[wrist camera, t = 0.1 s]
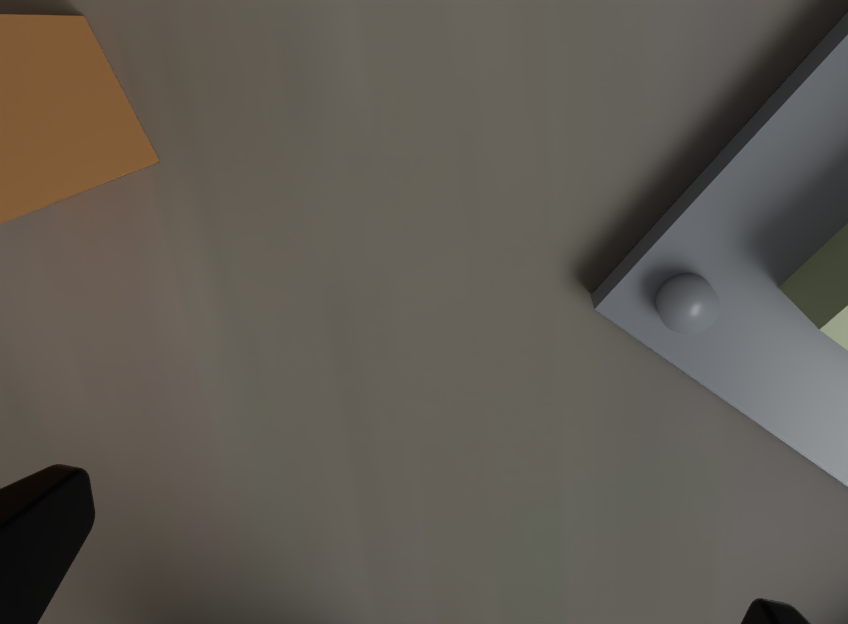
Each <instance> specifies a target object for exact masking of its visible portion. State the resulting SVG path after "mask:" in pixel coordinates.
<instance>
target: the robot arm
mask: <svg viewBox="0 0 848 624" xmlns="http://www.w3.org/2000/svg"><path fill="white" fill-rule="evenodd" d="M94 519H95V508H94V502H93V496H92V490H91V484H90V478H89V475H88V473H87V472H86V471H85V470H84V469H82V468H78V467H72V466H67V465H62V464H56V465H52V466H50V467H47V468H45V469H43V470H40V471H38V472H36V473H34V474H32V475H30V476H27V477H25V478H23V479H21V480H19V481H16V482H14V483H12V484H10V485H8V486H5V487H3V488H1V489H0V624H37V623H38V622H39V620H40V618H41V617H42V615H43V613H44V611H45V610H46V608H47V606H48V604H49V603H50V601H51V599H52V597H53V596H54V594H55V592H56V590H57V589H58V587H59V585H60V583H61V582H62V580H63V578H64V576H65V575H66V573H67V571H68V569H69V568H70V566H71V564H72V562H73V561H74V559H75V557H76V555H77V554H78V552H79V550H80V548H81V547H82V545H83V543H84V541H85V540H86V538H87V536H88V534H89V533H90V531H91V529H92V526H93V523H94ZM741 624H811V623H810V622H809V621H808V620H807V619H806V618H805V617H804V616H803V615H802V614H801V613H800V612H799V611H798V610H797V609H795V608H794V607H793V606H791V605H790V604H787V603H783V602H778V601H773V600H768V599H762V598H759V599H756V600H754V601H753V602H752V603H751V605H750V607H749V609H748V610H747V612H746V614H745V616H744V618H743V620H742V622H741Z"/></svg>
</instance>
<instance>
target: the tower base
mask: <svg viewBox="0 0 848 624" xmlns="http://www.w3.org/2000/svg"><path fill="white" fill-rule="evenodd" d="M591 297H592V301H593V305H594V309H595V310H597V311H598V312H599V313H601V314H602V315H604V316H605V317H606V318H608V319H609V320H611V321H612V322H614V323H615V324H616V325H618V326H619V327H621V328H622V329H624V330H625V331H626V332H628V333H629V334H631V335H632V336H634V337H635V338H636V339H638V340H639V341H641V342H642V343H644V344H645V345H646V346H648V347H649V348H651V349H652V350H654V351H655V352H656V353H658V354H659V355H661V356H662V357H664V358H665V359H666V360H668V361H669V362H671V363H672V364H674V365H675V366H676V367H678V368H679V369H681V370H682V371H684V372H685V373H686V374H688V375H689V376H691V377H692V378H694V379H695V380H696V381H698V382H699V383H701V384H702V385H704V386H705V387H706V388H708V389H709V390H711V391H712V392H714V393H715V394H716V395H718V396H719V397H721V398H722V399H723V400H725V401H726V402H728V403H729V404H731V405H732V406H733V407H735V408H736V409H738V410H739V411H741V412H742V413H743V414H745V415H746V416H748V417H749V418H751V419H752V420H753V421H755V422H756V423H758V424H759V425H761V426H762V427H763V428H765V429H766V430H768V431H769V432H771V433H772V434H773V435H775V436H776V437H778V438H779V439H781V440H782V441H783V442H785V443H786V444H788V445H789V446H791V447H792V448H793V449H795V450H796V451H798V452H799V453H801V454H802V455H803V456H805V457H806V458H808V459H809V460H811V461H812V462H813V463H815V464H816V465H818V466H819V467H821V468H822V469H823V470H825V471H826V472H828V473H829V474H830V475H832V476H833V477H835V478H836V479H838V480H839V481H840V482H842V483H843V484H845V485H846V486H848V12H847V13H846V14H845V15H844V16H843V17H842V18H841V20H840V21H839V22H838V23H837V24H836V25H835V26H834V27H833V28H832V30H831V31H830V32H829V33H828V34H827V35H826V36H825V37H824V38H823V39H822V41H821V42H820V43H819V44H818V45H817V46H816V47H815V48H814V49H813V51H812V52H811V53H810V54H809V55H808V56H807V57H806V58H805V59H804V60H803V62H802V63H801V64H800V65H799V66H798V67H797V68H796V69H795V70H794V71H793V73H792V74H791V75H790V76H789V77H788V78H787V79H786V80H785V81H784V83H783V84H782V85H781V86H780V87H779V88H778V89H777V90H776V91H775V92H774V94H773V95H772V96H771V97H770V98H769V99H768V100H767V101H766V102H765V104H764V105H763V106H762V107H761V108H760V109H759V110H758V111H757V112H756V113H755V115H754V116H753V117H752V118H751V119H750V120H749V121H748V122H747V123H746V124H745V126H744V127H743V128H742V129H741V130H740V131H739V132H738V133H737V134H736V136H735V137H734V138H733V139H732V140H731V141H730V142H729V143H728V144H727V145H726V147H725V148H724V149H723V150H722V151H721V152H720V153H719V154H718V155H717V156H716V158H715V159H714V160H713V161H712V162H711V163H710V164H709V165H708V166H707V168H706V169H705V170H704V171H703V172H702V173H701V174H700V175H699V176H698V177H697V179H696V180H695V181H694V182H693V183H692V184H691V185H690V186H689V187H688V189H687V190H686V191H685V192H684V193H683V194H682V195H681V196H680V197H679V198H678V200H677V201H676V202H675V203H674V204H673V205H672V206H671V207H670V208H669V209H668V211H667V212H666V213H665V214H664V215H663V216H662V217H661V218H660V219H659V221H658V222H657V223H656V224H655V225H654V226H653V227H652V228H651V229H650V230H649V232H648V233H647V234H646V235H645V236H644V237H643V238H642V239H641V240H640V241H639V243H638V244H637V245H636V246H635V247H634V248H633V249H632V250H631V251H630V253H629V254H628V255H627V256H626V257H625V258H624V259H623V260H622V261H621V262H620V264H619V265H618V266H617V267H616V268H615V269H614V270H613V271H612V272H611V274H610V275H609V276H608V277H607V278H606V279H605V280H604V281H603V282H602V283H601V285H600V286H599V287H598V288H597V289H596V290H595V291H594V292H593V293H592V294H591Z"/></svg>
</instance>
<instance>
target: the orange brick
mask: <svg viewBox="0 0 848 624" xmlns="http://www.w3.org/2000/svg"><path fill="white" fill-rule="evenodd" d="M157 162H160V161H159V159H158V157H157V155H156V153H155V151H154V150H153V148H152V146H151V144H150V142H149V140H148V138H147V136H146V134H145V132H144V130H143V128H142V126H141V124H140V123H139V121H138V119H137V117H136V115H135V113H134V111H133V109H132V107H131V105H130V103H129V101H128V99H127V97H126V95H125V94H124V92H123V90H122V88H121V86H120V84H119V82H118V80H117V78H116V76H115V74H114V72H113V70H112V68H111V66H110V65H109V63H108V61H107V59H106V57H105V55H104V53H103V51H102V49H101V47H100V45H99V43H98V41H97V39H96V38H95V36H94V34H93V32H92V30H91V28H90V26H89V24H88V22H87V20H86V18H85V16H65V15H15V14H0V224H2V223H5V222H8V221H10V220H13V219H15V218H18V217H21V216H23V215H26V214H28V213H31V212H34V211H36V210H39V209H41V208H44V207H47V206H49V205H52V204H54V203H57V202H59V201H62V200H64V199H67V198H69V197H72V196H74V195H77V194H80V193H82V192H85V191H87V190H90V189H92V188H95V187H97V186H100V185H102V184H105V183H107V182H110V181H112V180H115V179H117V178H120V177H122V176H125V175H127V174H130V173H132V172H135V171H137V170H140V169H142V168H145V167H147V166H150V165H152V164H155V163H157Z"/></svg>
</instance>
